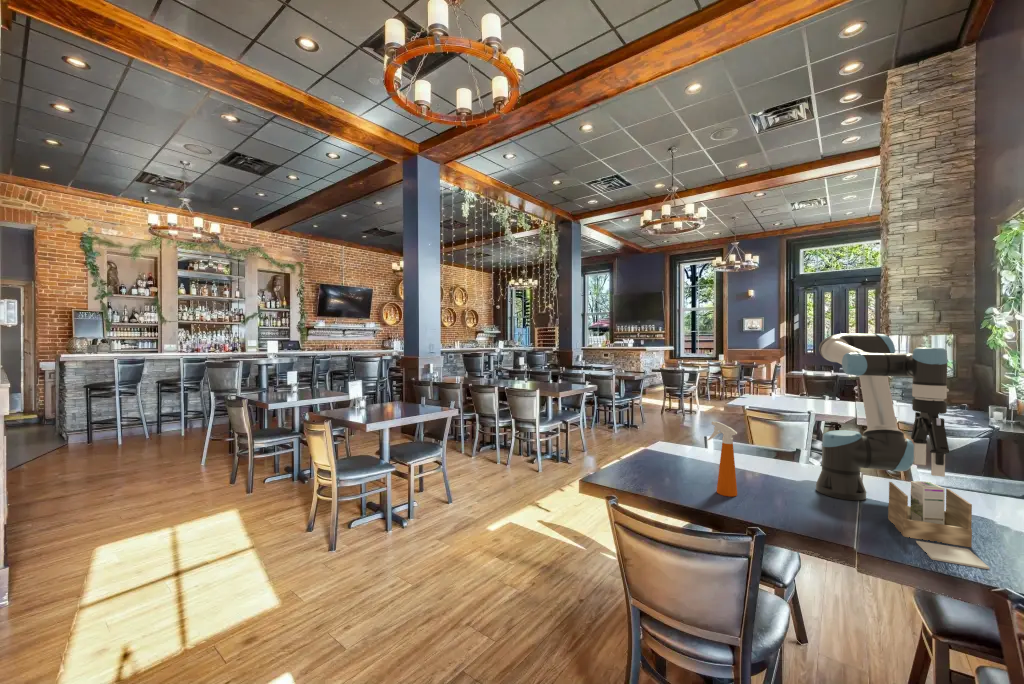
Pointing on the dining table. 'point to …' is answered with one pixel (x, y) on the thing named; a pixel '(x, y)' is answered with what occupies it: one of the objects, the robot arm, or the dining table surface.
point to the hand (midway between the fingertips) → (928, 470)
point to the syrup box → (927, 502)
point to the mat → (951, 554)
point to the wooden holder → (950, 533)
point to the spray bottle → (726, 461)
